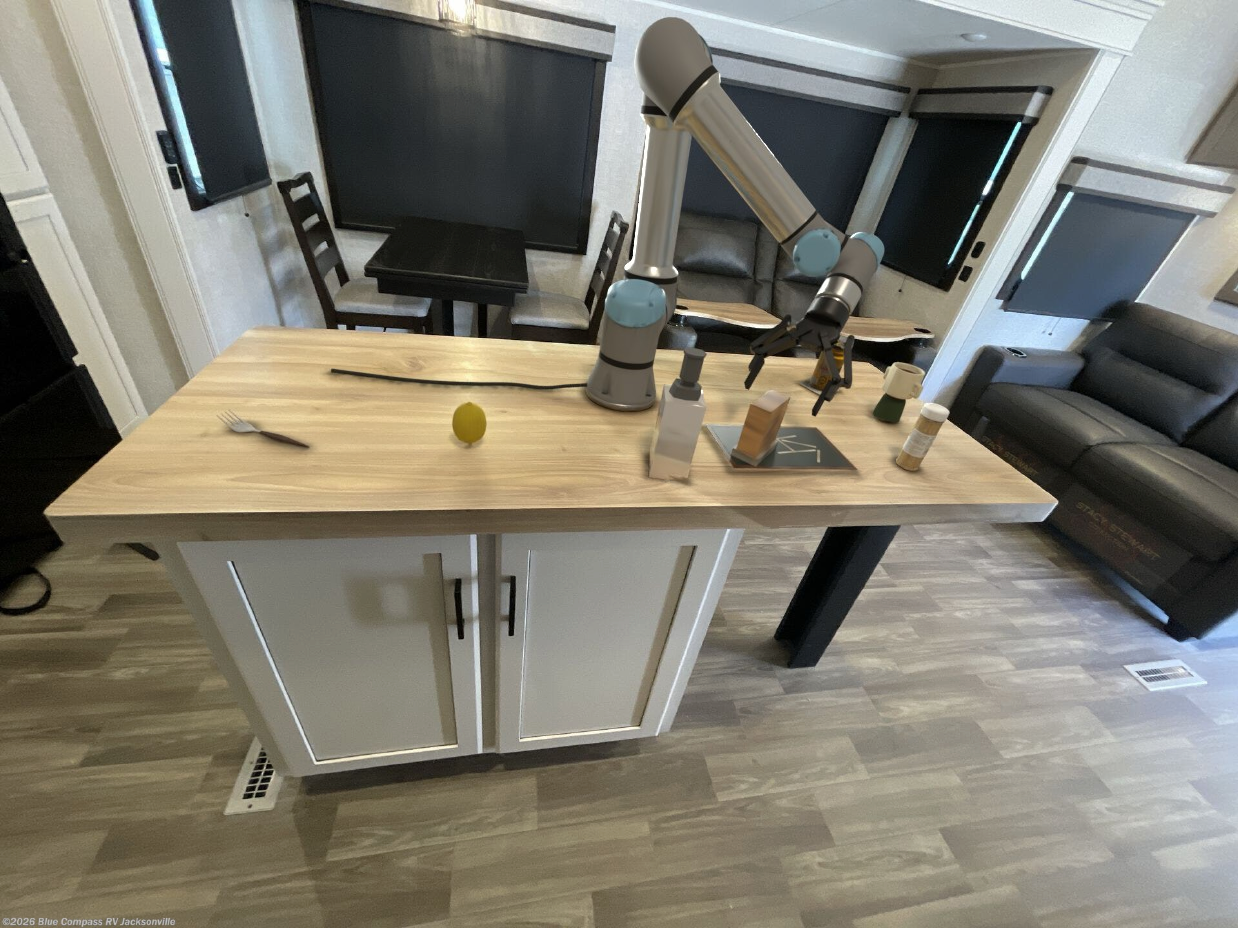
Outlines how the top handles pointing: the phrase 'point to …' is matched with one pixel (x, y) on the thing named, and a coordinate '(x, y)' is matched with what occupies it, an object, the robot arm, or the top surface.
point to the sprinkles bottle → (922, 436)
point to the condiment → (824, 370)
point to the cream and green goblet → (898, 390)
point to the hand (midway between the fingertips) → (779, 399)
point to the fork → (248, 428)
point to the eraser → (761, 428)
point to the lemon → (469, 422)
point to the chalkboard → (786, 449)
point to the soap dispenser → (679, 420)
